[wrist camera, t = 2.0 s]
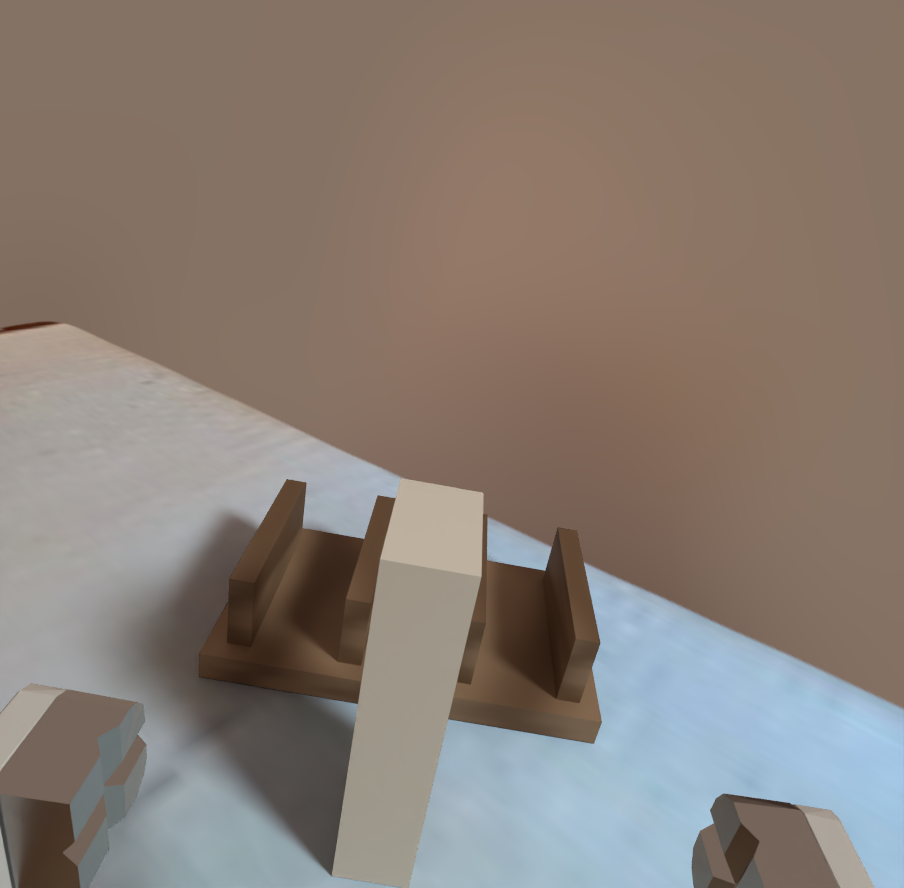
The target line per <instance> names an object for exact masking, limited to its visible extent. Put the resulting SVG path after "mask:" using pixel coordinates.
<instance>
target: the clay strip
mask: <svg viewBox="0 0 904 888" xmlns="http://www.w3.org/2000/svg"><path fill="white" fill-rule="evenodd" d="M482 532H483V493H481V492H475V491H470V490H464V489H458V488H453V487H447V486H441V485H436V484H430V483H424V482H419V481H414V480H408V479H402V478H401V480H400V484H399V488H398V492H397V496H396V500H395V503H394V507H393V511H392V515H391V519H390V523H389V527H388V531H387V534H386V538H385V542H384V546H383V550H382V554H381V558H380V563H379V570H378V576H377V583H376V589H375V596H374V603H373V609H372V616H371V622H370V629H369V635H368V642H367V648H366V655H365V662H364V668H363V675H362V681H361V688H360V694H359V701H358V707H357V714H356V721H355V727H354V734H353V740H352V747H351V753H350V760H349V766H348V773H347V779H346V786H345V793H344V799H343V806H342V812H341V819H340V825H339V832H338V838H337V845H336V852H335V858H334V865H333V871H332V876H334V877H341V878H347V879H353V880H359V881H365V882H371V883H378V884H384V885H390V886H396V887H402V888H409V884H410V880H411V875H412V871H413V867H414V863H415V858H416V854H417V850H418V845H419V841H420V837H421V833H422V828H423V824H424V820H425V816H426V811H427V807H428V803H429V799H430V794H431V790H432V786H433V781H434V777H435V773H436V769H437V764H438V760H439V756H440V752H441V747H442V743H443V739H444V734H445V730H446V726H447V722H448V717H449V713H450V709H451V705H452V700H453V696H454V692H455V688H456V683H457V679H458V675H459V670H460V666H461V662H462V658H463V653H464V649H465V645H466V641H467V636H468V632H469V628H470V624H471V619H472V615H473V611H474V606H475V602H476V598H477V594H478V589H479V585H480V581H481V574H482Z"/></svg>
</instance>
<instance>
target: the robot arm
mask: <svg viewBox="0 0 904 888" xmlns="http://www.w3.org/2000/svg"><path fill="white" fill-rule="evenodd" d="M144 722H145V716H144V706H143V704H141V703H138V702H132V701H127V700H122V699H116V698H111V697H106V696H100V695H95V694H89V693H84V692H79V691H73V690H67V689H61V688H55V687H49V686H44V685H38V684H32V683H31V684H30V685H28V686H27V687H25V688H23V689H22V690H20V691H19V692H18V693H17V694H16V695H15V696H14V697H13V699H12V700H11V701H10V702H9V703H8V704H7V706H6V707H5V708H4V709H3V710H2V712H1V713H0V888H88V887H89V885H90V883H91V882H92V880H93V878H94V876H95V874H96V872H97V870H98V869H99V867H100V865H101V863H102V861H103V859H104V857H105V855H106V854H107V852H108V850H109V841H108V829H109V828H111V827H112V826H114V825H115V824H116V823H118V822H119V821H121V820H122V819H124V818H125V817H126V816H127V814H128V812H129V810H130V808H131V806H132V804H133V802H134V800H135V798H136V796H137V793H138V790H139V787H140V784H141V781H142V778H143V776H144V771H145V765H146V758H147V753H146V744H145V742H144V741H143V740H142V739H141V738H140V737H139V736H138V733H139V731H140V729H141V728H142V726H143V724H144ZM710 811H711V815H712V818H713V821H714V824H712V825H710V826H708V827H707V828H705V829H703V830H701V831H700V833H699V835H698V837H697V840H696V842H695V844H694V847H693V857H692V876H693V885H694V888H875V887H874V886H873V884H872V882H871V880H870V878H869V876H868V874H867V872H866V870H865V868H864V866H863V864H862V862H861V860H860V858H859V856H858V854H857V852H856V850H855V848H854V846H853V844H852V842H851V840H850V839H849V837H848V835H847V833H846V831H845V829H844V827H843V825H842V823H841V821H840V819H839V818H838V817H837V816H836V815H835V814H834V813H833V812H832V811H831V810H827V809H820V808H814V807H808V806H801V805H792V804H790V803H786V802H779V801H772V800H765V799H758V798H751V797H744V796H737V795H730V794H722V795H721V796H719V797H717V798H716V800H715V802H714V804H713V806H712V808H711V810H710Z"/></svg>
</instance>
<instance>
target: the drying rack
mask: <svg viewBox="0 0 904 888" xmlns="http://www.w3.org/2000/svg"><path fill="white" fill-rule="evenodd" d="M305 493H306V483H305V482H300V481H294V480H288V479H287V480H286V482H285V483H284V485H283V487H282V489H281V490H280V492H279V494H278V495H277V497H276V499H275V501H274V502H273V504H272V506H271V508H270V509H269V511H268V513H267V514H266V516H265V518H264V520H263V521H262V523H261V525H260V527H259V528H258V530H257V532H256V534H255V535H254V537H253V539H252V540H251V542H250V544H249V546H248V547H247V549H246V551H245V553H244V554H243V556H242V558H241V559H240V561H239V563H238V565H237V566H236V568H235V570H234V572H233V573H232V575H231V577H230V578H229V601H228V603H227V604H226V606H225V608H224V610H223V612H222V613H221V615H220V617H219V619H218V621H217V623H216V624H215V626H214V628H213V630H212V632H211V633H210V635H209V637H208V639H207V641H206V642H205V644H204V646H203V648H202V650H201V651H200V653H199V677H204V678H210V679H216V680H222V681H228V682H234V683H240V684H246V685H252V686H258V687H264V688H269V689H275V690H281V691H287V692H293V693H299V694H305V695H311V696H317V697H323V698H328V699H334V700H340V701H346V702H352V703H358V701H359V694H360V688H361V681H362V675H363V668H364V662H365V655H366V648H367V642H368V635H369V629H370V622H371V616H372V609H373V603H374V596H375V589H376V583H377V576H378V570H379V563H380V558H381V554H382V550H383V546H384V542H385V538H386V534H387V531H388V527H389V523H390V519H391V515H392V511H393V507H394V503H395V500H396V498H390V497H384V496H379V495H378V496H377V500H376V503H375V506H374V509H373V513H372V516H371V519H370V522H369V526H368V529H367V532H366V535H365V539H361V538H355V537H350V536H344V535H338V534H333V533H327V532H321V531H316V530H310V529H304V528H302V526H303V515H304V504H305ZM599 646H600V639H599V634H598V629H597V624H596V620H595V615H594V610H593V605H592V600H591V596H590V591H589V586H588V581H587V576H586V572H585V567H584V562H583V558H582V553H581V548H580V543H579V538H578V533H577V531H576V530H570V529H564V528H559V527H558V528H557V532H556V535H555V539H554V542H553V546H552V549H551V553H550V556H549V560H548V564H547V567H546V571H543V570H538V569H532V568H526V567H521V566H515V565H509V564H504V563H498V562H492V561H487V515H486V514H483V532H482V574H481V581H480V585H479V589H478V594H477V598H476V602H475V606H474V611H473V615H472V619H471V624H470V628H469V632H468V636H467V641H466V645H465V649H464V653H463V658H462V662H461V666H460V670H459V675H458V679H457V683H456V688H455V692H454V696H453V700H452V705H451V709H450V713H449V717H448V719H452V720H458V721H464V722H470V723H476V724H482V725H488V726H494V727H500V728H506V729H511V730H517V731H523V732H529V733H535V734H541V735H547V736H553V737H559V738H565V739H570V740H576V741H582V742H588V743H594V742H595V739H596V736H597V734H598V731H599V728H600V726H601V723H602V721H601V716H600V710H599V705H598V699H597V694H596V688H595V683H594V677H593V672H592V666H593V663H594V660H595V657H596V654H597V651H598V649H599Z"/></svg>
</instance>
